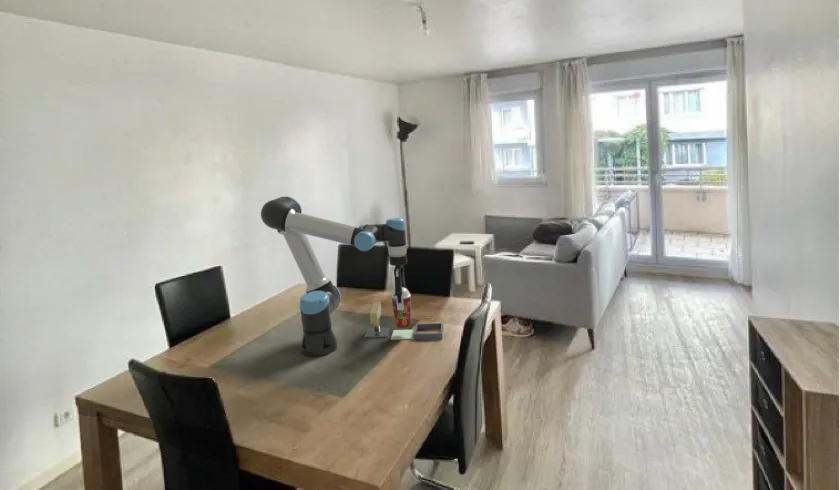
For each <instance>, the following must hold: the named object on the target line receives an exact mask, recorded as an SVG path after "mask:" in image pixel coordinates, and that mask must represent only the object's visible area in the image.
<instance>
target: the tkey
mask: <svg viewBox="0 0 840 490" xmlns="http://www.w3.org/2000/svg"><path fill="white" fill-rule="evenodd" d="M381 315H382V304H381V301H373V303H372V307H371V308H370V311H369V321H370V325H373V328H374V331H375V332H379V331H380V328H381V326H380V319H381Z"/></svg>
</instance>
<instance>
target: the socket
mask: <svg viewBox="0 0 840 490" xmlns="http://www.w3.org/2000/svg"><path fill="white" fill-rule="evenodd" d="M414 330H415V331H414V339H413V340H417V341H418V340H420V341H421V340H442V339H443V334H444V322H431V323H430V322H429V323H416V324H415V327H414ZM420 330H421V331H422V330H440V332H425V333H421V332H420V333H418V331H420Z"/></svg>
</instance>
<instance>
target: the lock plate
mask: <svg viewBox="0 0 840 490" xmlns="http://www.w3.org/2000/svg"><path fill="white" fill-rule="evenodd" d="M390 330H391V327H380V331H379V332H375V331H374V327H371V328H367V330H366V333H365V335H364V337H363V339H383V338H384V339H385V338H386V339H387V338H388V336H389V333H390Z"/></svg>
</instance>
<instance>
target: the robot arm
mask: <svg viewBox="0 0 840 490" xmlns="http://www.w3.org/2000/svg"><path fill="white" fill-rule="evenodd" d="M302 210H303V209H302V206H301V203H299V201H298V200H297V199H295V198H294V197H292V196H280V197H277V198H275V199H271V200H269V201H267V202H265V204H263V206H262V207H261V211H260V218H261V220H262V222H263V223H264V225H265V226H267V227H268V228H270V229H273V230H276V231H277V234H279V235H282V236H283V238H284V239H285V241H286V244H287V245H288V248H289V250H290V252H291V254H292V256H293V259H294V261H295V263H296V265H297V268H298V269H299V271H300V274H301V275H302V277H303V280H304V282H305V284H306V288H305V294H303V295H302V296H301V297H300V298H299V310H300V318H301V326H302V327H301V328H302V337H301V342H300V353H301V354H303V355H304V356H308V357H319V356H325V355H328V354H330V353H333V352H335V351H336V350H337V349H338V347H339V346H338V344H339V343H338V339H337V337H336V335H335V333H334V331H333V328H332V319H331V317H332V316H331V315H333V313H334V312H335V310H337V309H338V307H339V305H340V303H341V299H342V297H341V296H342V295H341V291H340V290H339V288H338V287H337V286H336V285H335V284H333V282H332V281H331V279H330V278H327V277H326V276H325V275H326V274H325V273H324V271H323V269H322V267H321V265H320V262H319V261H318V258H317V255H316V254H315V252H314V249H313V247H312V245H311V243H310V241H309V238H308V236H312V237H317V238H319V239H324V240H328V241H333V242H336V243H340V244H343V245H348V246H352V247H356V249H358V250H359V251H361V252H367V251H369V250H371V249H372V248H373V247H374V246H375V245H376V244H377V243H386V242H387V247H388V251H387V252H388V255H389V257H388V259H389V260H388V261H389V265H390V266H392V267H393V266H394V269H393V275H394V290H395V294H394V296H396V300H397V310H404V305H403V295H402V287H404V288H406V289H408V287H407V285H406V279H405V278H406V277H405V265H407V264H408V255H407V250H408V246H407V237H406V235H407V234H406V227H405V221H404V219H403V218H402V217H393V218H392V217H391V218H388V219H386V222H385V223H380V224H379V223H378V224H377V223H376V224H368V223H367V224H360V225H359V227H356V226H352V225H351V224H350V225H349V224H347V223H341V222H336V221H333V220H328V219H324V218H320V217H318V216H317V217H316V216H313V215H308V214H305V213H303V212H302ZM307 235H308V236H307ZM397 292H400V293H397Z"/></svg>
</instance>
